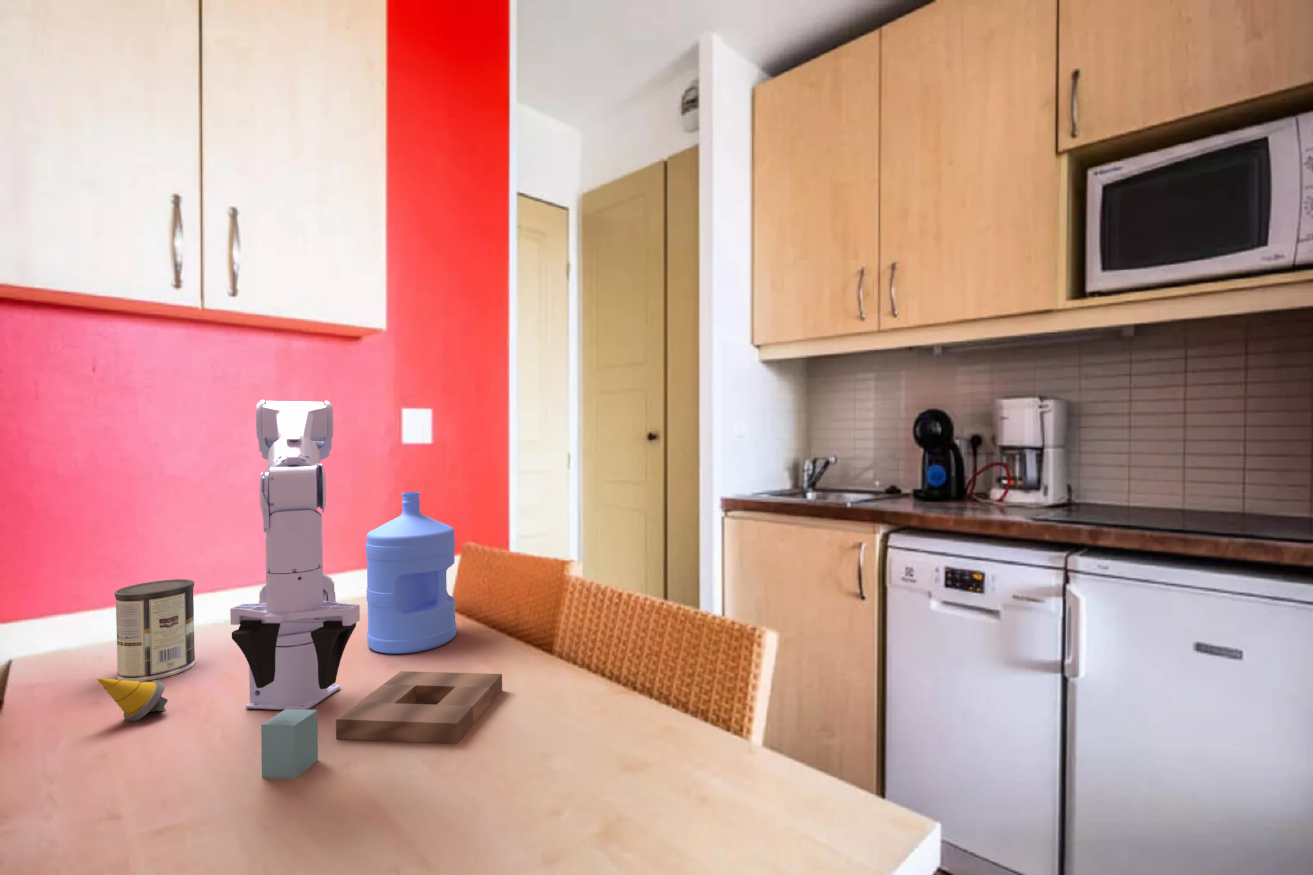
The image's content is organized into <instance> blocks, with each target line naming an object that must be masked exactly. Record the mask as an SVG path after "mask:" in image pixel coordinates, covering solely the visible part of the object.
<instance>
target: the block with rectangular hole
mask: <svg viewBox="0 0 1313 875" xmlns="http://www.w3.org/2000/svg"><path fill="white" fill-rule="evenodd" d="M501 692H503V674H502V673H483V672H482V673H480V672H479V673H477V672H443V671H441V672H439V671H438V672H437V671H408V670H405V671H404V670H402V671H399V672H398V673H397V674H395V675H394V676H392V677H391V678H390V679H388V680H387V681H386V682H384V683H383V684H382V685H380V686H379V687H377V688H376V689H375V690H373V691H372V692H370V693H369V694H368V695H367V696H365V697H364V698H363V699H361V700H359V702H357V703H356V704H354V705H353V706H351V707H350V708H349V709H348V710H346V711H345V712H344V713H342V714H341V715H340V716H337V718H336V719H335V739H337V740H358V741H360V740H361V741H381V742H382V741H384V742H407V743H409V742H410V743H411V742H412V743H414V742H415V743H430V744H431V743H434V744H435V743H437V744H458V743H459V742H460V741H461V740H462V738H463V737H464V736H465V735H466V734H467V733H468V731H469V730H470V729H471V728H472V726H474V725H475V723H476V722H477V721H478V720H479V718H481V716H482V715H483V714H484V712H486V710H487V709H488V708H489V707H490V705H491V704H492V703H493V702H494V701H495V700H496V699H497V697H498V696H499V695H500V694H501Z"/></svg>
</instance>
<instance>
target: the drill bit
mask: <svg viewBox="0 0 1313 875" xmlns="http://www.w3.org/2000/svg"><path fill="white" fill-rule="evenodd" d="M96 680H97V682H98V683H99V684H100V685H101V686H102V687H103V688H104V690H105V691H106V692H107V693H108V695H109V696H110V697H111V699H112V700H113V701H114V702H115V703H116V704H117V706H118V707H119V708H120V709H121V710H122V712H123V718H124V719H126V720H128V721H131V722H136V721H138V720H141V719H142V718H143V717H144V716H146V715H147V714H148V713H150V712H151V713H152V712H163V711H167V709H166V708H165V706H166V704H167V703H168V701H169V700H168V699H167V698H165V697H163V693H164V692H165V687H166V685H165V683H164V682H162V681H160V680H159V679H155V680H150V681H127V680H122V681H119V680H118V679H113V678H96Z"/></svg>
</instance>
